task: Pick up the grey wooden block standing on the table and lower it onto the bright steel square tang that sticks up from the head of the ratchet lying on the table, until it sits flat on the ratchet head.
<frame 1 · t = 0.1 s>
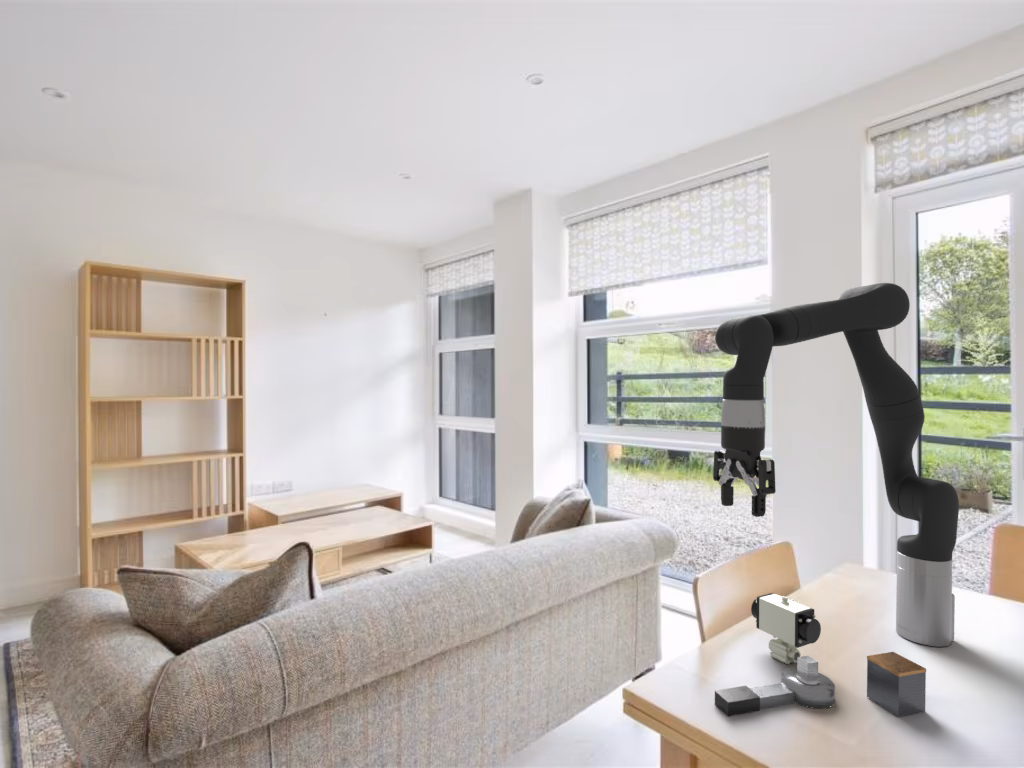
hand: (742, 510, 101), 29 cm above the table, tool pointing down, fingers open, 8 cm apart
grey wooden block: (895, 704, 90), on the table
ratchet: (807, 694, 92), on the table
pneumatic valve: (785, 659, 104), on the table
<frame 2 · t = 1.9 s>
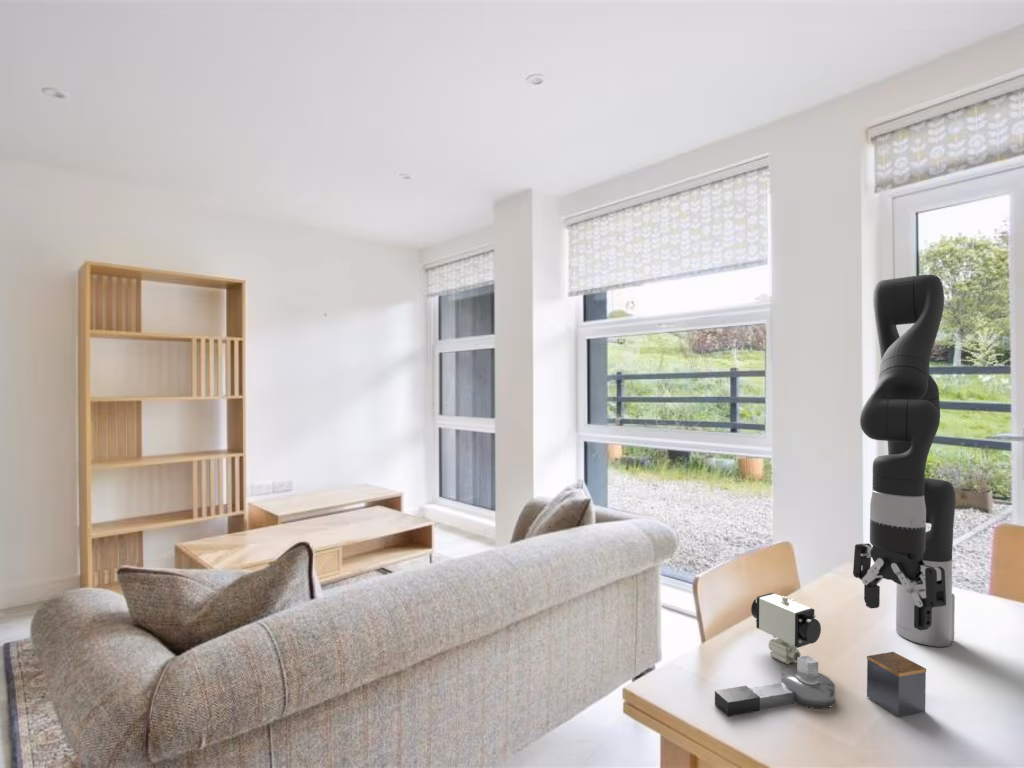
hand: (895, 617, 90), 14 cm above the table, tool pointing down, fingers open, 8 cm apart
nothing on the table moved.
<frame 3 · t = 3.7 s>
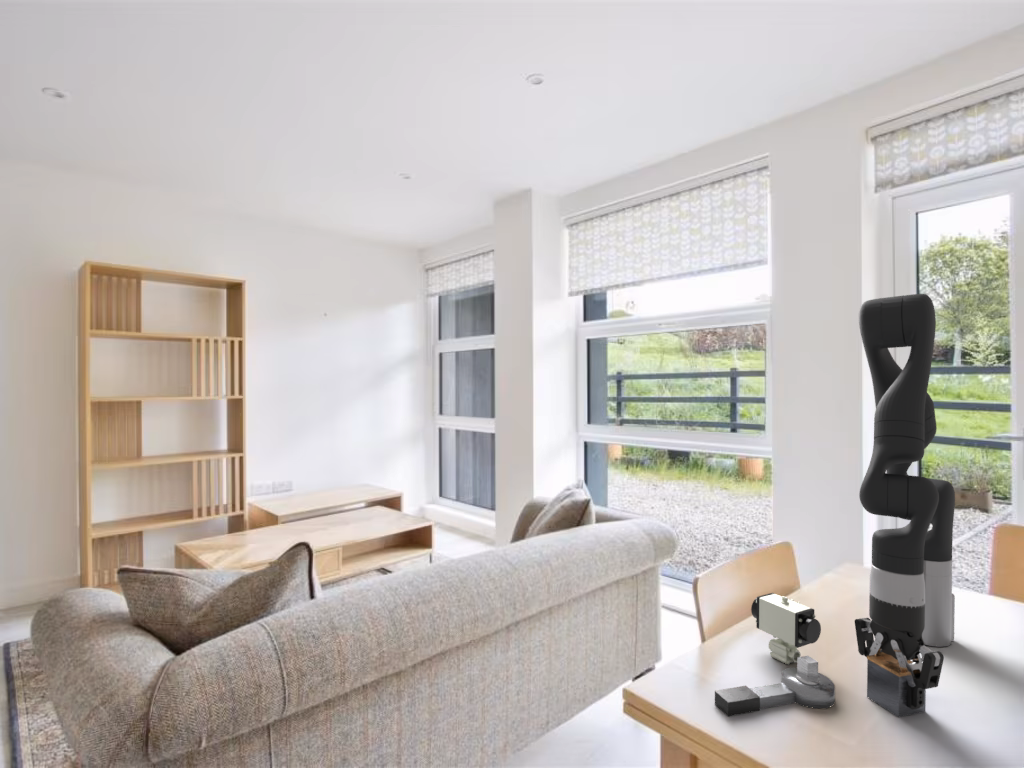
hand: (895, 696, 90), 1 cm above the table, tool pointing down, fingers closed on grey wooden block, 5 cm apart
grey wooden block: (895, 704, 90), on the table, touching gripper
everything else where it was.
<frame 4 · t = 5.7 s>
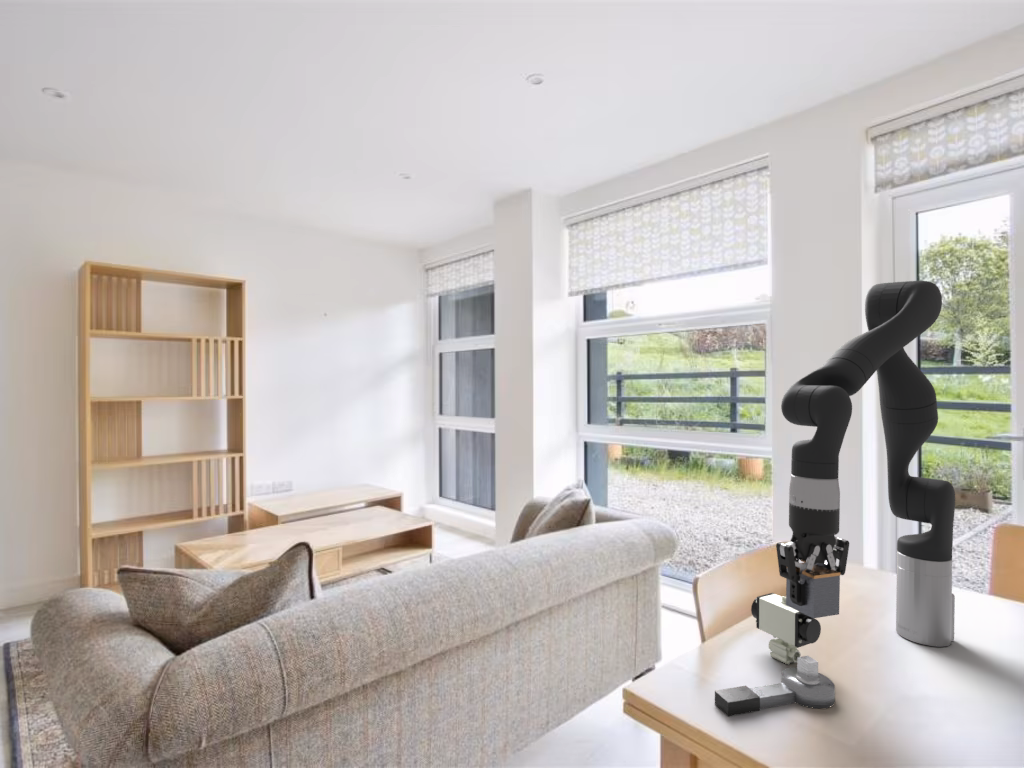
hand: (812, 601, 92), 16 cm above the table, tool pointing down, fingers closed on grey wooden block, 5 cm apart
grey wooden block: (812, 609, 92), point 15 cm above the table, touching gripper
everything else where it was.
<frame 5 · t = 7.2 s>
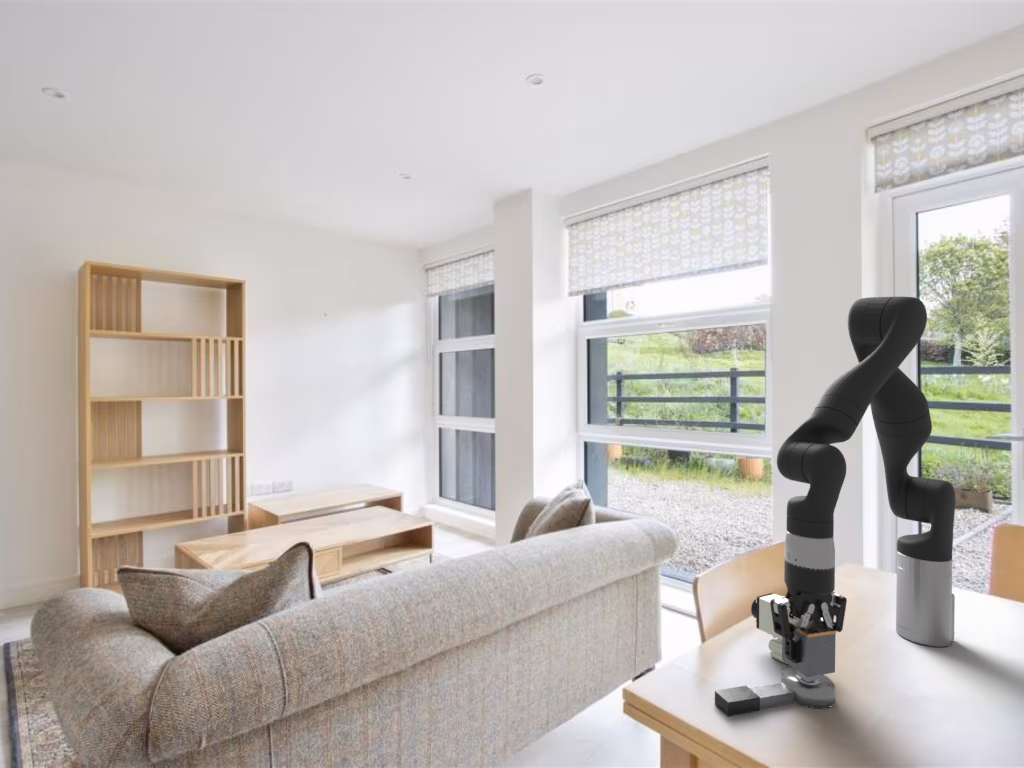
hand: (808, 658, 92), 6 cm above the table, tool pointing down, fingers closed on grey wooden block, 5 cm apart
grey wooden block: (807, 666, 92), point 5 cm above the table, touching gripper
everything else where it was.
when the fingers open (4 cm above the table, at t = 8.1 s): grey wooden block stays where it is, resting on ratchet.
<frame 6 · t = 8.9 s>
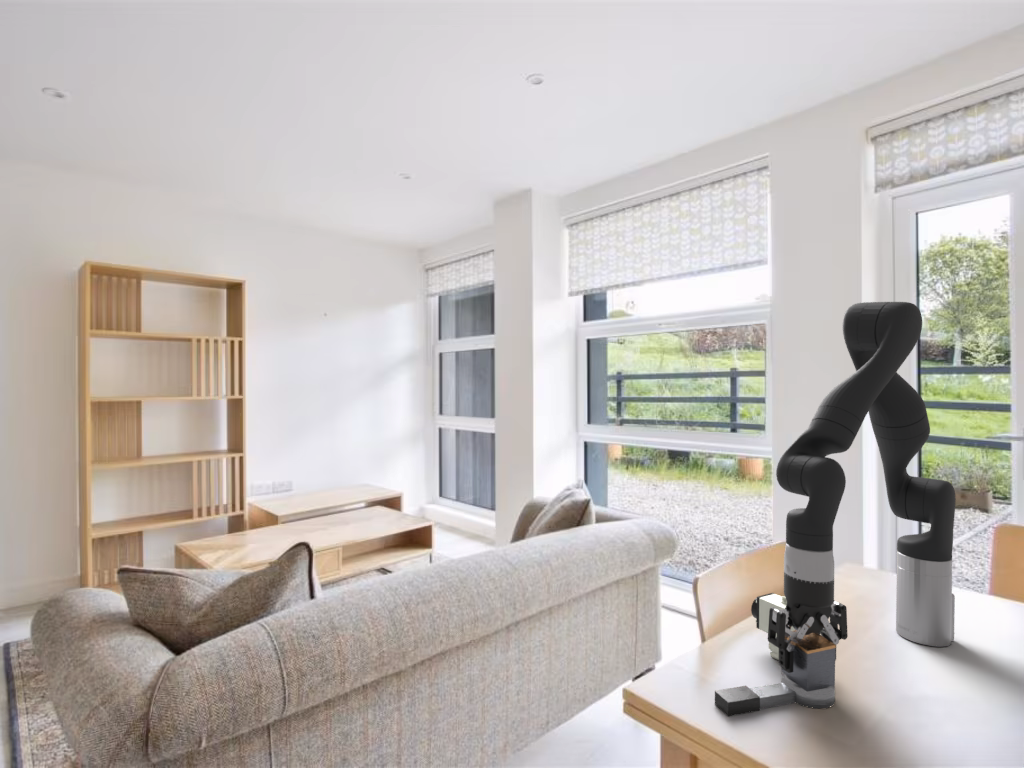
hand: (807, 666, 92), 5 cm above the table, tool pointing down, fingers open, 8 cm apart
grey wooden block: (807, 678, 92), point 3 cm above the table, touching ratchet
everything else where it was.
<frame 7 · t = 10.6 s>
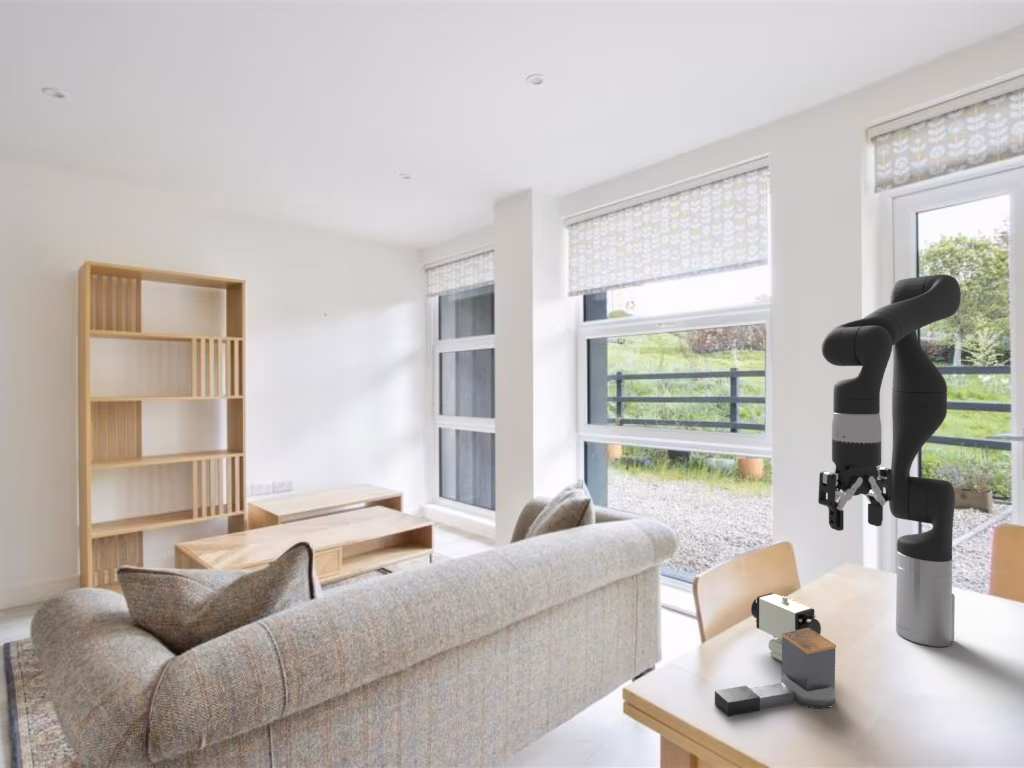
hand: (856, 527, 98), 27 cm above the table, tool pointing down, fingers open, 8 cm apart
nothing on the table moved.
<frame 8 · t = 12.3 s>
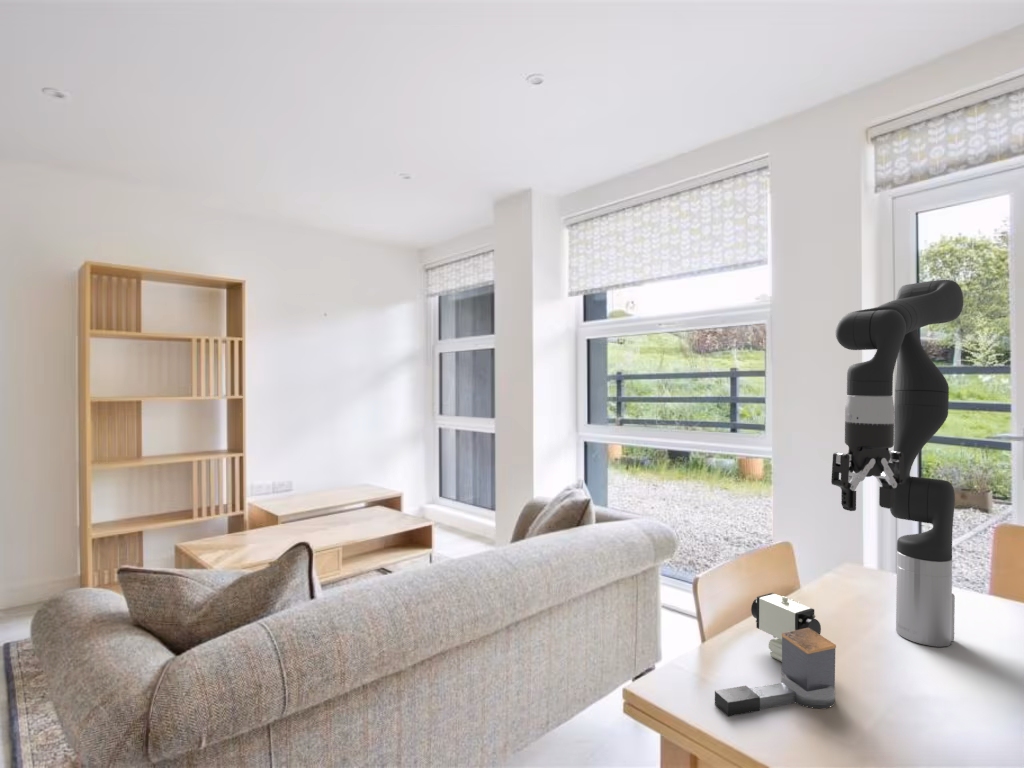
hand: (867, 508, 99), 30 cm above the table, tool pointing down, fingers open, 8 cm apart
nothing on the table moved.
at the end: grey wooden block 0.1 cm off-centre on the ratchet, point 2.8 cm above the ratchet's base; the gripper is holding nothing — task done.
